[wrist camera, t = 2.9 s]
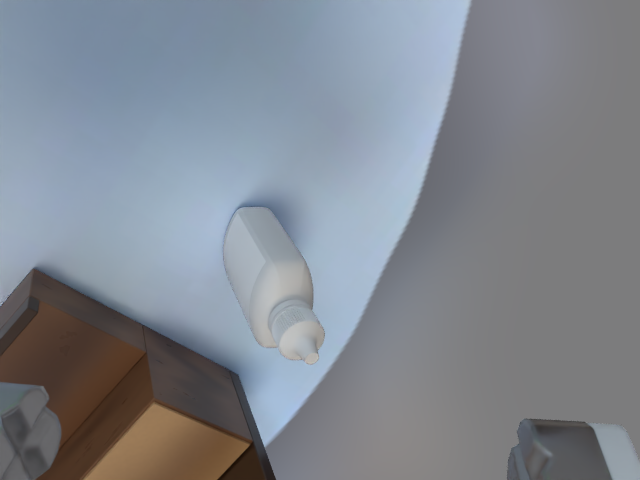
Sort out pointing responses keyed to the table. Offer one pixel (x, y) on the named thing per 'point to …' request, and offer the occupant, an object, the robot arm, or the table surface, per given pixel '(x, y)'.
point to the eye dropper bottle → (272, 284)
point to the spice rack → (126, 392)
